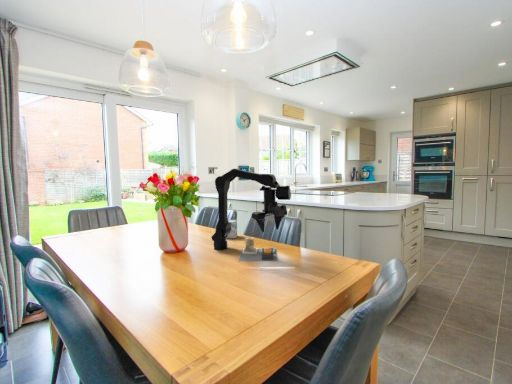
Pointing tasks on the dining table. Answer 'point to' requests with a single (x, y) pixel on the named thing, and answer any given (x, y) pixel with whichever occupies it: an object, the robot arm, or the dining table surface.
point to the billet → (249, 244)
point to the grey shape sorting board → (258, 255)
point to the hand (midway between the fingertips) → (270, 230)
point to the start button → (267, 250)
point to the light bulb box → (233, 229)
